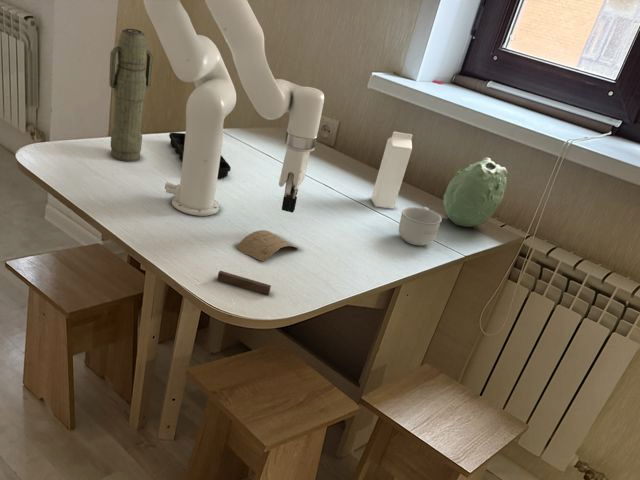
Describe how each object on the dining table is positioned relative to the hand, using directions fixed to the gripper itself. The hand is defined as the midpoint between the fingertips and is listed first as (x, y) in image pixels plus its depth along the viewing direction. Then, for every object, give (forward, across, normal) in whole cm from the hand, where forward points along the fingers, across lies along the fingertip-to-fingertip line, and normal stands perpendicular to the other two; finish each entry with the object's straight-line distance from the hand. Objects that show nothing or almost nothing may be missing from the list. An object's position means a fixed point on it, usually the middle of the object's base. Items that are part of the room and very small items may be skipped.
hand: (287, 210), depth 177 cm
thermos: (+4, -20, -55) cm, 59 cm away
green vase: (+7, -39, +47) cm, 62 cm away
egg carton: (+5, -32, -36) cm, 48 cm away
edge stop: (+6, +35, -1) cm, 36 cm away
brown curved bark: (+6, +14, -1) cm, 15 cm away
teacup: (+7, -18, +34) cm, 39 cm away
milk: (+6, -38, +22) cm, 44 cm away
